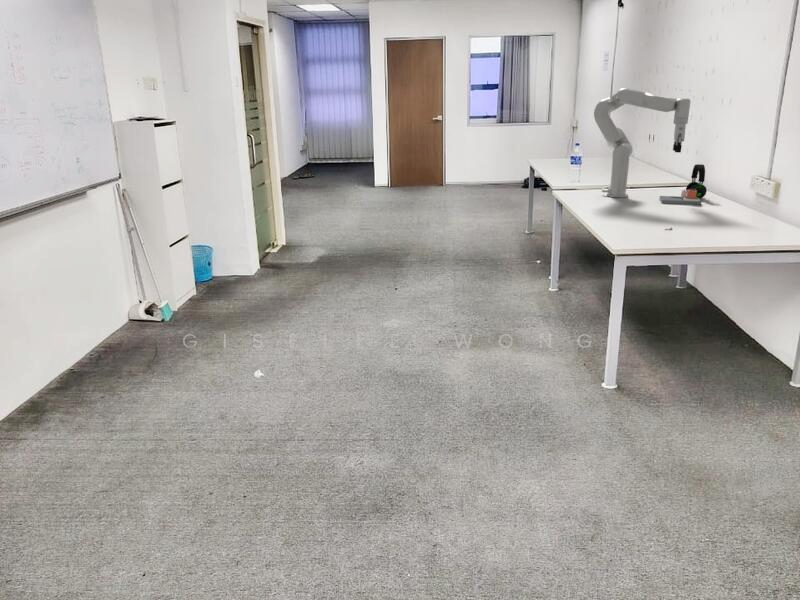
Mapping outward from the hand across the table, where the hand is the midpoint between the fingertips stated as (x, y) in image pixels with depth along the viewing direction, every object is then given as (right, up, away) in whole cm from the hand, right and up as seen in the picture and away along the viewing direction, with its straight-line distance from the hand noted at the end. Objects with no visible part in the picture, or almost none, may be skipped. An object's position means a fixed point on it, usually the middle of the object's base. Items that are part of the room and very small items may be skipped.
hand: (676, 151), depth 369 cm
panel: (+3, -29, +2) cm, 29 cm away
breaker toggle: (+6, -26, +4) cm, 27 cm away
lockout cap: (+7, -29, -3) cm, 30 cm away
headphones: (+18, -25, +15) cm, 34 cm away
